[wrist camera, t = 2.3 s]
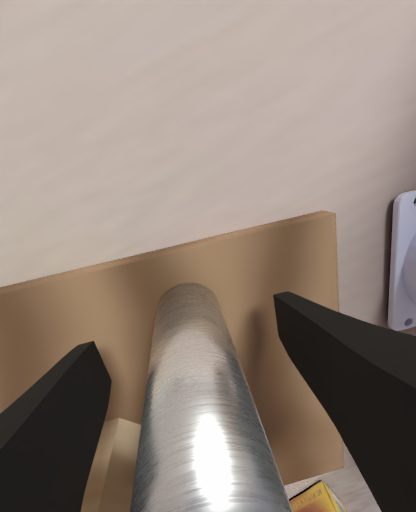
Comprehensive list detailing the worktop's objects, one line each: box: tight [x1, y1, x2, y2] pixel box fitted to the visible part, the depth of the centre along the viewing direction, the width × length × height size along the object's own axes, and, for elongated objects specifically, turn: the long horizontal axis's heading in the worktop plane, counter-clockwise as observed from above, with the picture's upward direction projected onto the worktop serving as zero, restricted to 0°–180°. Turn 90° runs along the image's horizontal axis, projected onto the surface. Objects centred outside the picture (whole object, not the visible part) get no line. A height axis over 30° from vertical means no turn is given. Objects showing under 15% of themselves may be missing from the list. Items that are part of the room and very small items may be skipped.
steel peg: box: [130, 282, 293, 512], centre depth 8 cm, size 3×3×8 cm
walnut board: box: [0, 211, 344, 485], centre depth 14 cm, size 20×18×1 cm
